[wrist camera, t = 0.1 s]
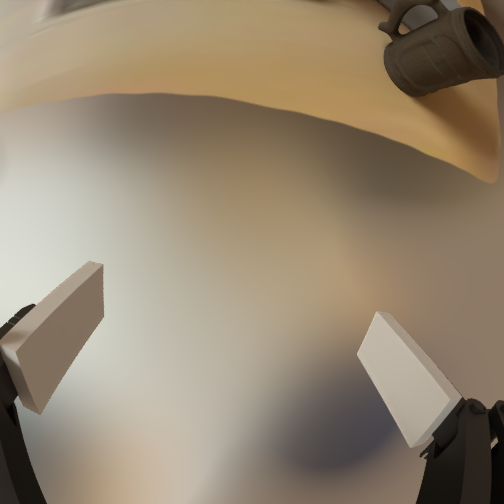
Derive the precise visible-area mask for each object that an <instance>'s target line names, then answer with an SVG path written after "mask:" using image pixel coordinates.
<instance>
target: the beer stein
mask: <svg viewBox="0 0 504 504" xmlns="http://www.w3.org/2000/svg"><path fill="white" fill-rule="evenodd" d="M417 5H426V6H429V7H431V8H432V9H433V10H434V11H435V12H436V13H437V15H438V18H436V19H434V20H432V21H430V22H428V23H426V24H424V25H422V26H420V27H418V28H416V29H414V30H412V31H410V32H408V33H406V34H404V35H402V34H400V33H399V31H398V28H399V25H400V23H401V20H402V19H403V17H404V15H405V14H406V13H407V12H408V11H409V10H410V9H411V8H413V7H415V6H417ZM378 29H379V30H381V31H383V32H385V33H387V34H388V35H389V36H390V37H391V39H392V40H393V42H391V43H390V44H389V45H388V46H387V47H386V49H385V51H384V64H385V67H386V70H387V72H388V74H389V76H390V78H391V79H392V81H393V82H394V83H395V84H396V85H397V86H398V87H399V88H400V89H401V90H403V91H404V92H406V93H407V94H409V95H412V96H418V97H420V96H424V95H427V94H428V93H433V92H436V91H438V90H440V89H443V88H447V87H451V86H456V85H460V84H463V83H467V82H469V81H471V80H477V79H488V78H498V77H500V76H501V75H504V44H503V42H502V39H501V38H500V36H499V34H498V32H497V31H496V29H495V28H494V26H493V25H492V24H491V23H490V22H489V21H488V20H487V18H486V17H485V16H484V15H482V14H481V13H480V12H479V11H477V10H475V9H474V8H471V7H462V8H456V9H454V10H452V11H450V10H448V9H447V8H446V7H445V6H444V4H443V3H442V2H441V0H396V1H395V2H394V4H393V6H392V9H391V12H390V16H389V20H388V22H381V23H380V24H379V26H378Z"/></svg>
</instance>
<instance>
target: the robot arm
mask: <svg viewBox="0 0 504 504" xmlns="http://www.w3.org/2000/svg"><path fill="white" fill-rule="evenodd" d="M103 317H104V301H103V264H100V263H95V262H91V261H89V262H87V263H86V264H85V265H83V266H82V267H81V268H80V269H78V270H77V271H76V272H75V273H74V274H72V275H71V276H70V277H69V278H67V279H66V280H65V281H64V282H63V283H62V284H60V285H59V286H58V287H57V288H56V289H54V290H53V291H52V292H51V293H50V294H49V295H48V296H46V297H45V298H44V299H43V300H42V301H41V302H40V303H38V304H37V305H35V304H31V305H28V306H26V307H24V308H22V309H21V310H20V311H18V312H17V313H16V314H15V315H14V317H12V318H11V319H10V320H9V321H8V323H7V322H6V323H5V324H4V325H3V326H2V327H1V328H0V504H47V503H46V500H45V498H44V496H43V494H42V491H41V489H40V486H39V484H38V482H37V479H36V476H35V473H34V471H33V468H32V465H31V462H30V459H29V456H28V453H27V449H26V446H25V442H24V439H23V435H22V431H21V427H20V423H19V419H18V414H17V409H16V406H15V404H14V400H15V399H16V397H17V396H19V398H20V400H21V402H22V404H23V406H24V407H26V408H28V409H30V410H32V411H34V412H35V413H38V414H39V415H40V414H41V413H42V411H43V409H44V408H45V406H46V404H47V403H48V401H49V399H50V398H51V396H52V394H53V392H54V391H55V389H56V388H57V386H58V384H59V383H60V381H61V380H62V378H63V376H64V375H65V373H66V372H67V370H68V369H69V367H70V365H71V364H72V362H73V361H74V359H75V357H76V356H77V355H78V353H79V351H80V350H81V349H82V347H83V346H84V344H85V343H86V341H87V340H88V338H89V337H90V336H91V334H92V333H93V331H94V330H95V329H96V327H97V326H98V324H99V323H100V322H101V320H102V319H103ZM357 356H358V358H359V359H360V361H361V363H362V364H363V366H364V368H365V369H366V371H367V373H368V374H369V376H370V378H371V379H372V381H373V383H374V385H375V386H376V388H377V390H378V391H379V393H380V395H381V397H382V398H383V400H384V402H385V404H386V405H387V407H388V409H389V411H390V412H391V414H392V416H393V418H394V419H395V421H396V423H397V425H398V426H399V428H400V430H401V432H402V434H403V436H404V438H405V439H406V441H407V443H408V445H409V447H410V448H412V447H416V446H419V445H422V444H424V443H425V441H427V439H428V438H429V437H430V436H431V435H433V437H434V440H433V441H432V442H431V443H430V444H429V446H428V447H427V448H426V449H425V450H424V451H423V452H422V453H421V454H420V457H422V456H423V455H424V454H425V453H428V455H427V456H426V457H425V458H424V459H427V462H426V467H425V471H424V476H423V480H422V484H421V487H420V491H419V495H418V498H417V502H416V504H504V401H502V400H498V401H497V402H496V403H495V405H494V406H493V407H492V409H486V407H485V406H484V405H483V404H482V403H481V402H480V401H478V400H476V399H472V398H471V399H468V400H465V399H464V398H463V397H462V395H461V394H460V393H459V392H458V390H457V389H456V388H455V387H454V386H453V384H452V383H451V382H450V381H449V380H448V378H447V377H446V376H445V375H444V374H443V373H442V371H441V370H440V369H439V368H438V367H437V366H436V365H435V364H434V363H433V361H432V360H431V359H430V358H429V357H428V356H427V355H426V353H425V352H424V351H423V350H422V349H421V348H420V347H419V346H418V344H417V343H416V342H415V341H414V340H413V339H412V338H411V337H410V335H409V334H408V333H407V332H406V331H405V330H404V329H403V328H402V327H401V326H400V325H399V323H398V322H396V320H395V319H394V318H393V317H392V316H391V315H390V314H389V313H388V312H382V311H376V313H375V316H374V318H373V320H372V323H371V325H370V327H369V329H368V332H367V334H366V336H365V338H364V340H363V342H362V345H361V347H360V349H359V351H358V353H357ZM496 437H497V439H498V443H497V444H496V445H495V446H494V447H493V448H492V449H491V443H492V442H493V441H494V439H495V438H496Z"/></svg>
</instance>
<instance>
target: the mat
mask: <svg viewBox="0 0 504 504" xmlns="http://www.w3.org/2000/svg"><path fill="white" fill-rule="evenodd" d="M377 1H379V2H380V3H381V4H382V5H383V6H385V7H386V8H387V9H388V10H389V11H390V12H391V9H392V6H393V4H394V2H395V1H396V0H377ZM441 2H442V3H443V4H444V6H445V7H446V8H447V9H448V10H450V11H452V10H454V9H456V8H462V7H461V6H460V5H459V4H458V3H457V2H456V0H441ZM436 18H438V15H437V13H436V12H435V11H434V10H433V9H432V8H431V7H429V6H426V5H417V6H415V7H413V8H411V9H410V10H409V11H408V12H407V13H406V14H405V15H404V17H403V19H402V20H401V21H402V22H403V23H404V24H405V25H406V26H407V27H408V28H409V29H410V30H411V31H412V30H414V29H416V28H418V27H420V26H422V25H424V24H426V23H428V22H430V21H432V20H434V19H436Z"/></svg>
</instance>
